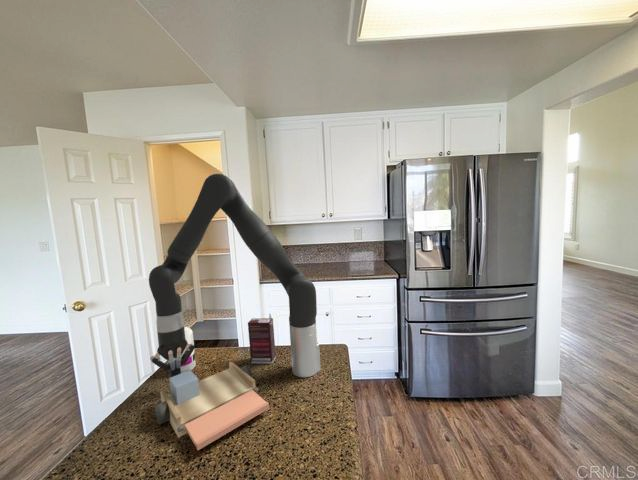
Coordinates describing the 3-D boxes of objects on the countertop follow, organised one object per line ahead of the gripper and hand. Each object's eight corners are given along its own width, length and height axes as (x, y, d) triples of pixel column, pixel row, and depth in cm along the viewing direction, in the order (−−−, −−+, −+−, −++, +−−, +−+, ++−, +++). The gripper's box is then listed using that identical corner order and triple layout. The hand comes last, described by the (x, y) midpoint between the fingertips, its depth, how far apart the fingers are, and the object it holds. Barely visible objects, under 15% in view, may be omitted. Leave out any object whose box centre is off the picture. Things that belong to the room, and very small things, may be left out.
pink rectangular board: (252, 389, 82) (268, 403, 75) (252, 393, 82) (269, 408, 75) (184, 424, 69) (197, 444, 62) (185, 429, 69) (197, 450, 62)
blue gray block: (191, 385, 86) (190, 369, 85) (199, 394, 80) (198, 378, 80) (170, 394, 82) (169, 378, 81) (177, 405, 76) (176, 388, 76)
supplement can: (186, 376, 96) (182, 335, 95) (165, 374, 98) (161, 334, 97) (200, 364, 104) (196, 325, 103) (181, 362, 106) (177, 325, 105)
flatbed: (239, 372, 97) (238, 358, 97) (265, 394, 84) (264, 378, 84) (152, 411, 79) (150, 395, 78) (168, 446, 66) (166, 427, 65)
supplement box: (276, 357, 106) (273, 317, 105) (272, 364, 101) (269, 322, 100) (254, 357, 107) (252, 317, 106) (250, 363, 103) (247, 322, 101)
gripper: (189, 317, 93) (193, 366, 95) (143, 330, 84) (149, 383, 86) (196, 323, 88) (201, 374, 89) (149, 336, 79) (155, 394, 80)
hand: (175, 379), depth 88 cm, fingers closed
